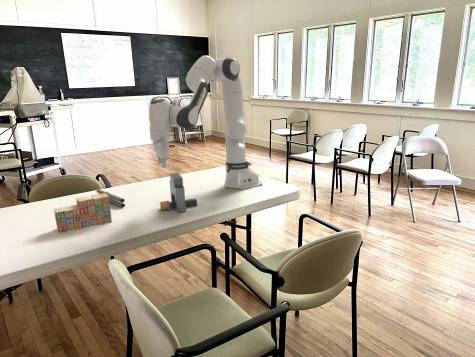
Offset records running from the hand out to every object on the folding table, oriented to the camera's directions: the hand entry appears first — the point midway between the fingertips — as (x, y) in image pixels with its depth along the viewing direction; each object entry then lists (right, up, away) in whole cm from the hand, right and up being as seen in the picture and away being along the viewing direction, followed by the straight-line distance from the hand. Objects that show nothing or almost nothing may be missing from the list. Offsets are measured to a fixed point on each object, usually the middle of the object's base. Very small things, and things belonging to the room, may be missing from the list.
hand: (161, 165), depth 165 cm
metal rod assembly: (-30, -19, +18) cm, 40 cm away
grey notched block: (+6, -20, +8) cm, 23 cm away
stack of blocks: (-31, -27, -11) cm, 42 cm away
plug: (+7, -20, +8) cm, 23 cm away
